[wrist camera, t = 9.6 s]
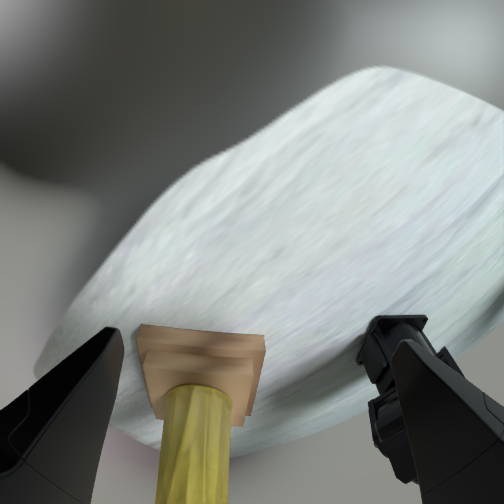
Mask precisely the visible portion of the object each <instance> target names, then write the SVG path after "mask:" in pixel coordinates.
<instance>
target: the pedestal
mask: <svg viewBox="0 0 504 504" xmlns="http://www.w3.org/2000/svg"><path fill="white" fill-rule="evenodd" d="M136 344H137V349H138V354H139V358H140V363H141V368H142V372H143V376H144V381H145V385H146V389H147V393H148V397H149V401H150V404H151V407H153V409H154V413H155V416H156V419H161V420H164V418H165V411H166V403H165V401H166V395H167V393H168V392H169V391H170V390H172V389H173V388H175V387H177V386H181V385H187V384H198V385H205V386H209V387H212V388H215V389H217V390H220V391H222V392H223V393H225V394H226V395H227V396H228V397H229V398H230V399H231V401H232V403H233V409H232V412H231V426H241V427H243V423H244V419H245V416H251V412H252V408H253V403H254V399H255V395H256V391H257V387H258V382H259V378H260V374H261V369H262V365H263V361H264V356H265V352H266V350H265V341H264V335H251V334H235V333H221V332H208V331H197V330H187V329H177V328H168V327H159V326H151V325H144V324H141V326H140V329H139V332H138V334H137V337H136Z"/></svg>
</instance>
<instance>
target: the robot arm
mask: <svg viewBox="0 0 504 504" xmlns="http://www.w3.org/2000/svg"><path fill="white" fill-rule="evenodd" d="M427 320H428V318H427V317H426V315H395V316H379V317H377V318H376V319H375V321H374V324H373V326H372V328H371V330H370V332H369V335H368V337H367V339H366V341H365V343H364V345H363V347H362V349H361V351H360V353H359V355H358V357H357V359H356V362H357V365H364V367H365V369H366V371H367V374H368V376H369V379H370V381H371V383H372V384H376V387H377V389H378V392H379V394H380V396H378V397H377V398H375V399H372V400H370V401H369V402H368V407H369V417H370V423H371V430H372V437H373V441H374V445H375V447H376V448H378V449H379V450H380V452H381V453H382V454H383V455H384V456H385V457H387V458H389V460H390V462H391V465H392V467H393V470H394V473H395V476H396V478H398V479H399V480H400V481H402V482H403V483H405V484H407V483H409V482H411V481H412V482H414V483H416V484H418V485H419V487H420V492H421V498H422V504H504V407H503V406H502V405H500V404H499V403H497V402H496V401H494V400H493V399H492V398H490V397H489V396H488V395H487V394H485V393H484V392H482V391H481V390H480V389H479V388H477V387H476V386H474V385H473V384H472V383H471V382H469V381H468V380H467V379H466V378H465V377H464V375H463V373H462V372H461V370H460V369H459V367H458V366H457V364H456V363H455V361H454V359H453V358H452V356H451V355H450V353H449V352H448V350H447V349H446V347H445V346H444V347H443V348H442V349H441V351H440V352H438V353H436V351H435V349H434V348H433V346H432V345H431V343H430V342H429V340H428V339H427V337H426V336H425V334H424V333H423V331H422V330H423V328H424V326H425V324H426V322H427ZM123 357H124V345H123V340H122V336H121V332H120V330H119V329H118V328H115V327H105V328H104V329H102V330H101V331H100V332H98V333H97V334H96V335H95V336H93V337H92V338H91V339H89V340H88V341H87V342H86V343H84V344H83V345H82V346H81V347H79V348H78V349H77V350H75V351H74V352H73V353H72V354H70V355H69V356H68V357H67V358H65V359H64V360H63V361H62V362H60V363H59V364H58V365H57V366H55V367H54V368H53V369H52V370H50V371H49V372H48V373H47V374H45V375H44V376H43V377H42V378H41V379H39V380H38V381H37V382H36V383H34V385H32V386H31V387H30V388H29V390H26V391H25V392H23V393H22V394H21V395H20V396H19V397H17V398H16V399H15V400H14V401H12V402H11V403H10V404H9V405H7V406H6V407H4V408H3V409H2V410H0V504H90V503H91V498H92V492H93V488H94V482H95V477H96V473H97V469H98V464H99V460H100V455H101V451H102V447H103V443H104V439H105V435H106V431H107V427H108V424H109V420H110V417H111V413H112V410H113V406H114V403H115V399H116V395H117V389H118V383H119V378H120V372H121V367H122V362H123Z"/></svg>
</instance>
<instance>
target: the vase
mask: <svg viewBox="0 0 504 504" xmlns="http://www.w3.org/2000/svg"><path fill="white" fill-rule="evenodd" d="M165 403H166V411H165V418H164V425H163V433H162V442H161V451H160V461H159V471H158V481H157V491H156V499H155V504H228V481H229V456H230V437H231V412H232V409H233V403H232V401H231V399H230V398H229V397H228V396H227V395H226V394H225V393H223V392H222V391H220V390H217V389H215V388H212V387H209V386H205V385H198V384H187V385H181V386H177V387H175V388H173V389H172V390H170V391H169V392H168V393H167V395H166V401H165Z"/></svg>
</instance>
